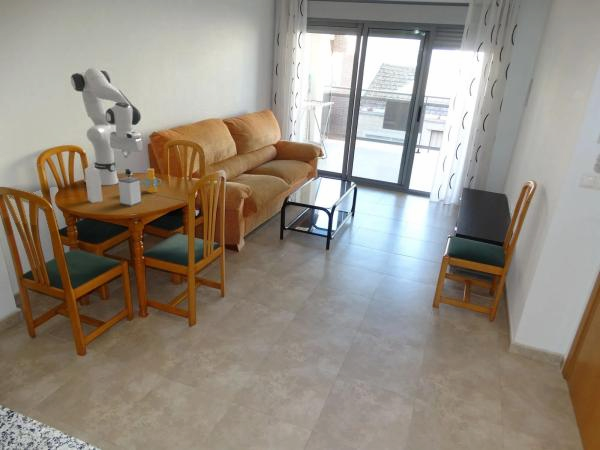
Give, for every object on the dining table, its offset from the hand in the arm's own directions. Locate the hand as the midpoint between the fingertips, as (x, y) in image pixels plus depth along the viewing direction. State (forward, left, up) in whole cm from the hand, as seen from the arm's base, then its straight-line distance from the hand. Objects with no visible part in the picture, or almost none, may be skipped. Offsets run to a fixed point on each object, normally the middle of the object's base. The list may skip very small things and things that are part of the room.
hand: (127, 157), depth 235 cm
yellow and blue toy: (-5, +25, -28) cm, 38 cm away
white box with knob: (0, +2, -28) cm, 28 cm away
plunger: (0, 0, -26) cm, 26 cm away
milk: (-20, -7, -28) cm, 35 cm away
